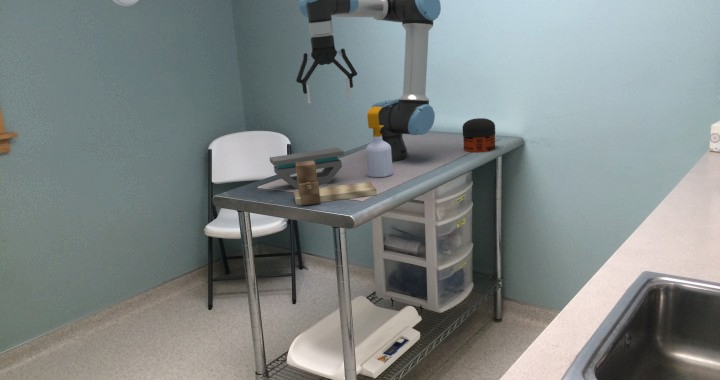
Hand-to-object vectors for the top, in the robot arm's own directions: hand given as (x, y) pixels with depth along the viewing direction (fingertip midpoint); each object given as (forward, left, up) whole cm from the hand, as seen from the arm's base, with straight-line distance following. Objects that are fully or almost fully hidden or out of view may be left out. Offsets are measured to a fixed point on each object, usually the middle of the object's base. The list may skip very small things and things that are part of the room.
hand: (329, 100), depth 207 cm
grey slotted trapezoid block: (+9, -7, -30) cm, 32 cm away
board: (+3, +13, -30) cm, 32 cm away
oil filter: (-63, -31, -30) cm, 76 cm away
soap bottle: (-17, -8, -30) cm, 35 cm away
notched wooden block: (+11, +15, -29) cm, 35 cm away
